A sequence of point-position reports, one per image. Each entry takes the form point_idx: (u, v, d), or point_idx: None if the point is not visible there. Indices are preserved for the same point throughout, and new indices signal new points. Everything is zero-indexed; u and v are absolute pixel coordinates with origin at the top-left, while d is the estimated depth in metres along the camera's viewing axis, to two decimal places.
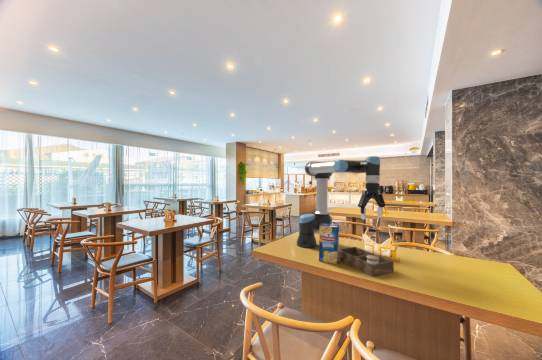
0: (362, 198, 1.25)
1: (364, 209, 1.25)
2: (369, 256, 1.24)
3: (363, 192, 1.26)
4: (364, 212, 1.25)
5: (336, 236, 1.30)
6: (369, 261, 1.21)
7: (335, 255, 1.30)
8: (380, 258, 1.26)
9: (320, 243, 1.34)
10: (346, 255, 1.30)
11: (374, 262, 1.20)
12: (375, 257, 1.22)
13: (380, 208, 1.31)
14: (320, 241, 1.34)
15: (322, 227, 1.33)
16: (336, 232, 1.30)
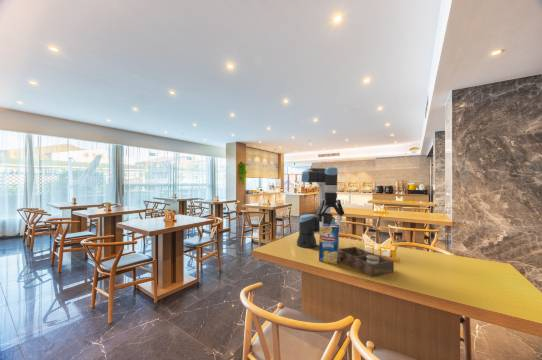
0: (320, 207, 1.32)
1: (322, 217, 1.31)
2: (369, 256, 1.24)
3: (321, 201, 1.32)
4: (322, 220, 1.31)
5: (336, 236, 1.30)
6: (369, 261, 1.21)
7: (335, 255, 1.30)
8: (380, 258, 1.26)
9: (320, 243, 1.34)
10: (346, 255, 1.30)
11: (374, 262, 1.20)
12: (375, 257, 1.22)
13: (339, 216, 1.37)
14: (320, 241, 1.34)
15: None
16: (336, 232, 1.30)
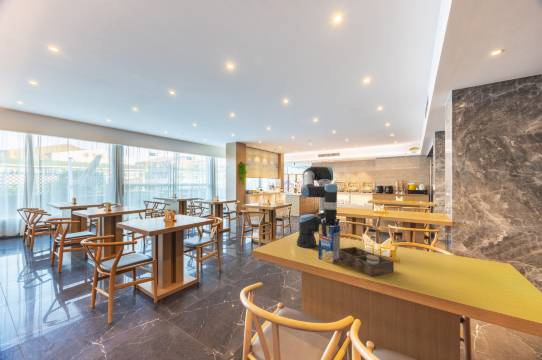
0: (323, 227, 1.33)
1: None
2: (369, 256, 1.24)
3: (322, 221, 1.33)
4: None
5: (332, 236, 1.30)
6: (369, 261, 1.21)
7: (331, 255, 1.30)
8: (380, 258, 1.26)
9: (319, 241, 1.37)
10: (346, 255, 1.30)
11: (374, 262, 1.20)
12: (375, 257, 1.22)
13: None
14: (319, 239, 1.37)
15: (321, 226, 1.37)
16: (332, 232, 1.30)
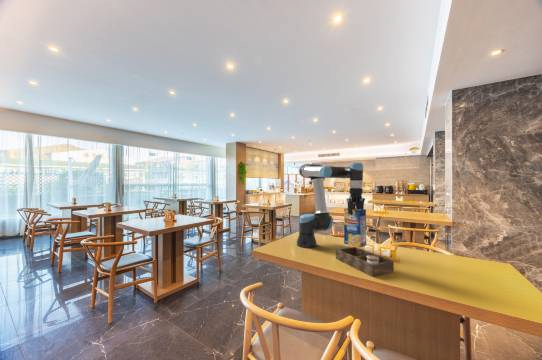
0: (349, 206, 1.32)
1: None
2: (369, 256, 1.24)
3: (348, 200, 1.32)
4: None
5: (359, 219, 1.29)
6: (369, 261, 1.21)
7: (358, 238, 1.29)
8: (380, 258, 1.26)
9: (345, 226, 1.36)
10: (346, 255, 1.30)
11: (374, 262, 1.20)
12: (375, 257, 1.22)
13: None
14: (345, 224, 1.36)
15: (346, 210, 1.36)
16: (359, 215, 1.29)
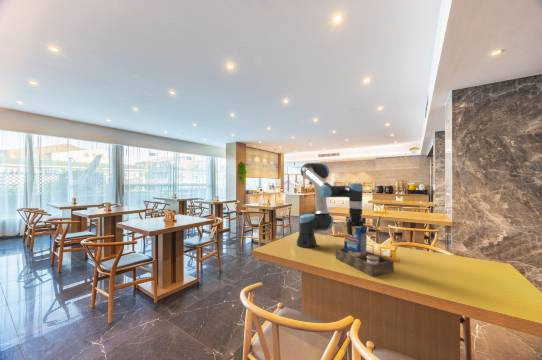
0: (348, 226, 1.32)
1: None
2: (369, 256, 1.24)
3: (347, 220, 1.32)
4: None
5: (359, 237, 1.29)
6: (369, 261, 1.21)
7: None
8: (380, 258, 1.26)
9: (345, 242, 1.36)
10: (346, 255, 1.30)
11: (374, 262, 1.20)
12: (375, 257, 1.22)
13: None
14: (345, 241, 1.36)
15: None
16: (359, 233, 1.29)
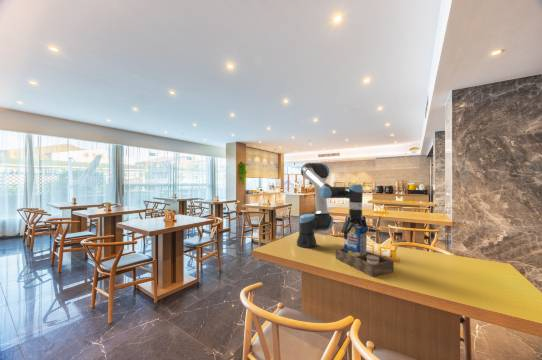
0: (345, 224, 1.31)
1: (347, 235, 1.31)
2: (369, 256, 1.24)
3: (347, 218, 1.32)
4: (347, 238, 1.31)
5: (359, 237, 1.29)
6: (369, 261, 1.21)
7: None
8: (380, 258, 1.26)
9: None
10: (346, 255, 1.30)
11: (374, 262, 1.20)
12: (375, 257, 1.22)
13: None
14: None
15: None
16: (359, 233, 1.29)
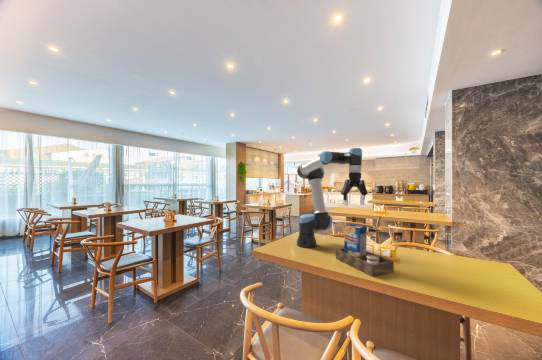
0: (345, 186, 1.36)
1: (346, 196, 1.36)
2: (369, 256, 1.24)
3: (346, 180, 1.37)
4: (346, 199, 1.36)
5: (359, 237, 1.29)
6: (369, 261, 1.21)
7: None
8: (380, 258, 1.26)
9: (345, 242, 1.37)
10: (346, 255, 1.30)
11: (374, 262, 1.20)
12: (375, 257, 1.22)
13: (362, 196, 1.42)
14: (345, 240, 1.36)
15: (347, 227, 1.36)
16: (359, 233, 1.29)
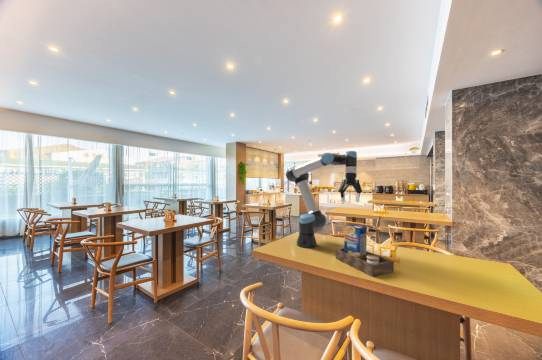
0: (342, 185, 1.53)
1: (343, 194, 1.53)
2: (369, 256, 1.24)
3: (343, 180, 1.54)
4: (343, 196, 1.53)
5: (359, 237, 1.29)
6: (369, 261, 1.21)
7: None
8: (380, 258, 1.26)
9: (345, 242, 1.37)
10: (346, 255, 1.30)
11: (374, 262, 1.20)
12: (375, 257, 1.22)
13: (357, 194, 1.59)
14: (345, 240, 1.36)
15: (347, 227, 1.36)
16: (359, 233, 1.29)
